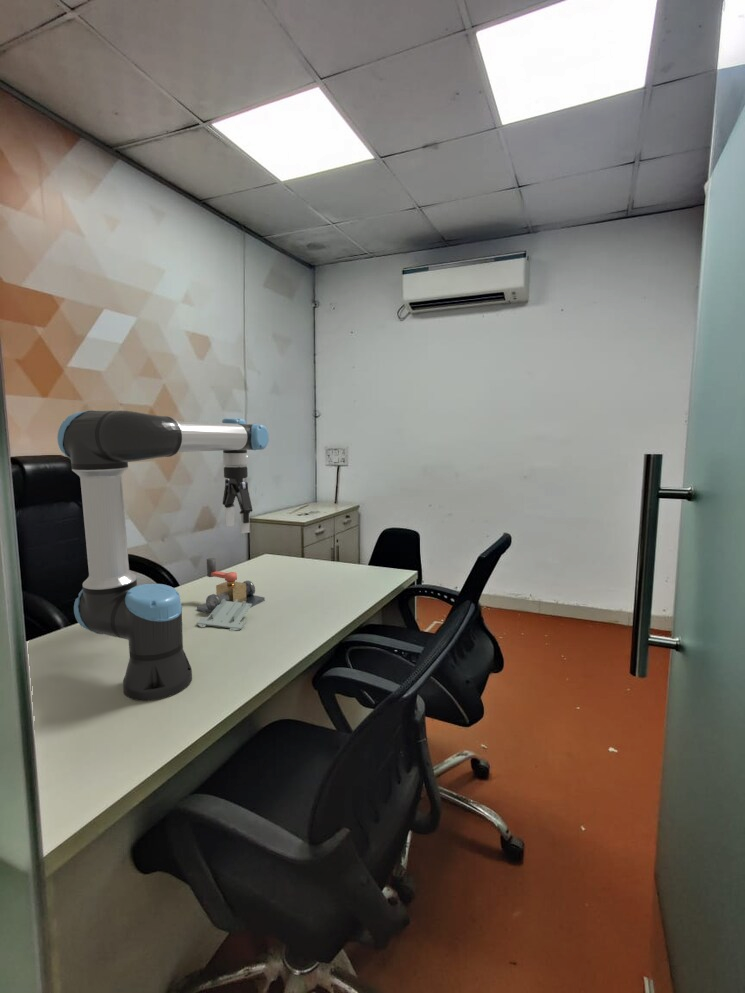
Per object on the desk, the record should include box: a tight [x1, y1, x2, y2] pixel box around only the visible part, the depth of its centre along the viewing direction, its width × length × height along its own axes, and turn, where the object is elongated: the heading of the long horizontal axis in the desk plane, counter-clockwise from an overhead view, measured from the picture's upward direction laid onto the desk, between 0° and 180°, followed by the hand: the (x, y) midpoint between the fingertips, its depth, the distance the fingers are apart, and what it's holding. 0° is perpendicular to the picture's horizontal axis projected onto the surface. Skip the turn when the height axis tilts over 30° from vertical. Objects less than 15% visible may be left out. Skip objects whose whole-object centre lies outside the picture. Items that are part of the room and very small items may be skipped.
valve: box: [196, 580, 266, 614], centre depth 167 cm, size 18×14×9 cm
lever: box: [206, 557, 238, 582], centre depth 168 cm, size 12×4×6 cm, turn 63°
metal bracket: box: [196, 599, 252, 632], centre depth 154 cm, size 14×6×15 cm
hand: (237, 529), depth 162 cm, fingers open, 13 cm apart
